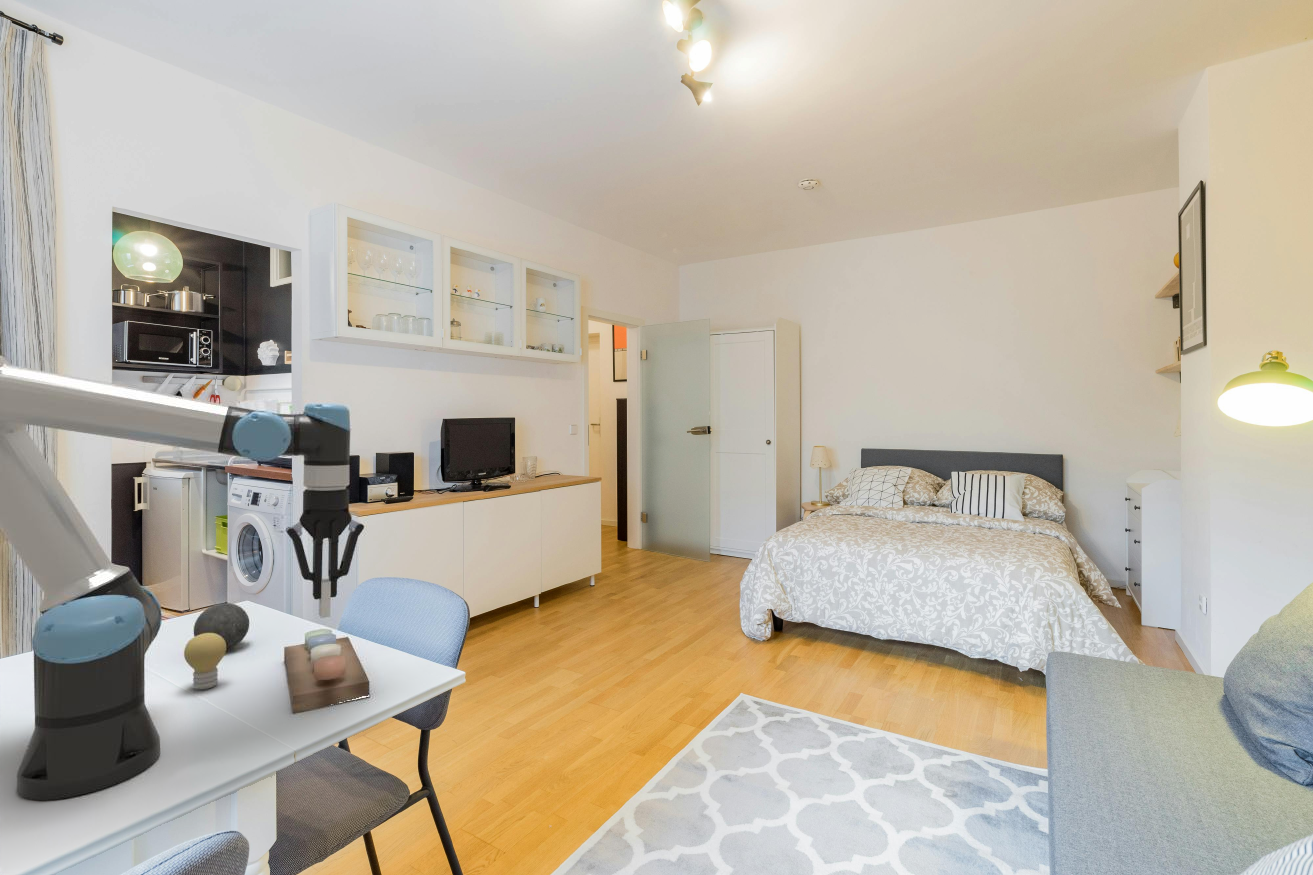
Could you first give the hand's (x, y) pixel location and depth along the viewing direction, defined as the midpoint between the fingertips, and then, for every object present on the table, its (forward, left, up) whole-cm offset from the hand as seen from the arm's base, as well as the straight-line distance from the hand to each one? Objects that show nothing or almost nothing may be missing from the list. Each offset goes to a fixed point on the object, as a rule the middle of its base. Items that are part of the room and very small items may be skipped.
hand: (324, 615), depth 117 cm
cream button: (0, +3, -10) cm, 10 cm away
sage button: (0, +17, -11) cm, 20 cm away
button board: (0, +6, -14) cm, 15 cm away
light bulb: (-19, +13, -14) cm, 27 cm away
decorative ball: (-17, +35, -14) cm, 42 cm away
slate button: (0, +10, -10) cm, 14 cm away
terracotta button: (0, -4, -10) cm, 11 cm away
